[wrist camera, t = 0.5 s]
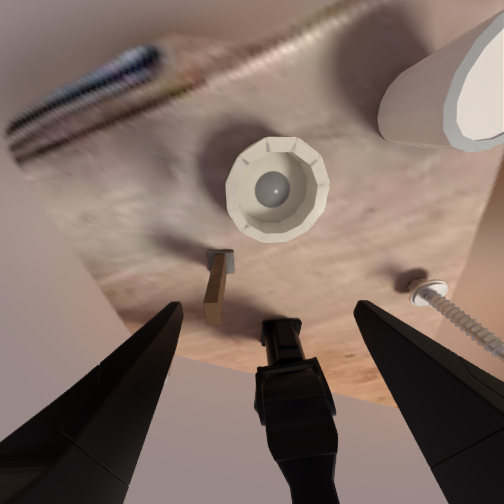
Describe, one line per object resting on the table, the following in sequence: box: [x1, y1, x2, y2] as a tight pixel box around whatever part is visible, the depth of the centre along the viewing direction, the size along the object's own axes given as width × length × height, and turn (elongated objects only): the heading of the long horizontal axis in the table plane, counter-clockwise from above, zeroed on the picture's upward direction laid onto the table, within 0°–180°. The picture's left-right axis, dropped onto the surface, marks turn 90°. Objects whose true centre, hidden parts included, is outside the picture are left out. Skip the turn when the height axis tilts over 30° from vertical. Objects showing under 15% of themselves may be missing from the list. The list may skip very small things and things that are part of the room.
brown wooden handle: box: [203, 250, 235, 325], centre depth 19 cm, size 3×3×9 cm
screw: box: [407, 278, 504, 362], centre depth 21 cm, size 13×5×5 cm
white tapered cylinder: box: [377, 10, 504, 152], centre depth 13 cm, size 7×7×7 cm
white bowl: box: [225, 137, 330, 243], centre depth 17 cm, size 9×9×4 cm
